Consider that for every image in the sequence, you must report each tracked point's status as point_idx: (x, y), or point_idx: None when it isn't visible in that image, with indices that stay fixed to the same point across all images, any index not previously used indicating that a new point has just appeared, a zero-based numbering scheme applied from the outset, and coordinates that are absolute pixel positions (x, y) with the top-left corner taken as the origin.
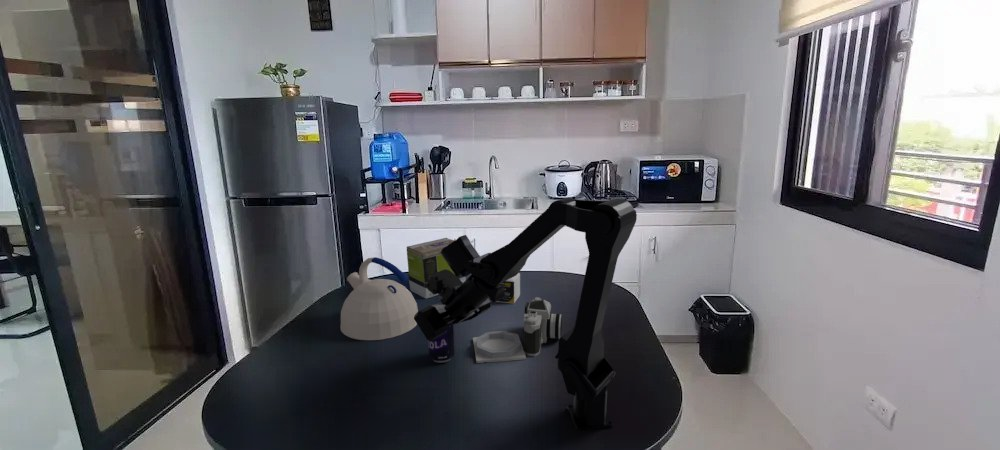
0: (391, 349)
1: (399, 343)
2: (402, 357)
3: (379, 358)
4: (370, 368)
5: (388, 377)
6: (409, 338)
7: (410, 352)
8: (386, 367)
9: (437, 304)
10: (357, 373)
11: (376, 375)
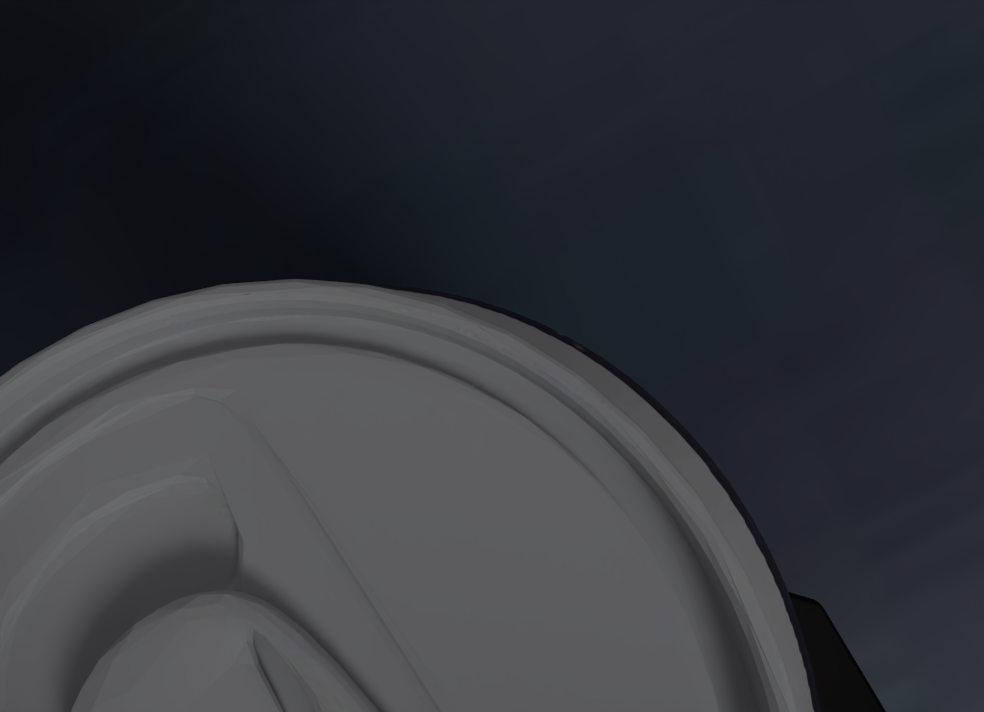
0: (490, 17)
1: (628, 15)
2: (383, 199)
3: (305, 20)
4: (133, 54)
5: (32, 281)
6: (768, 42)
7: (498, 216)
8: (179, 167)
9: (642, 471)
10: (42, 10)
11: (42, 167)
